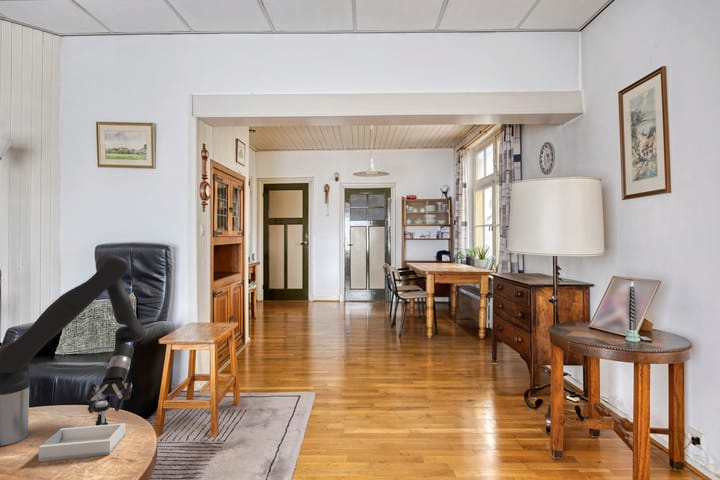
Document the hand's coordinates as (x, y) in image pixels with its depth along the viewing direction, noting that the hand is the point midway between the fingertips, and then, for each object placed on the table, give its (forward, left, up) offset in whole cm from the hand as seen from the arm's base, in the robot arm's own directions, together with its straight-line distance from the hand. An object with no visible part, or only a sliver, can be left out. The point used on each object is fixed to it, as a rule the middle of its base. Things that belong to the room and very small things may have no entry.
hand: (103, 411), depth 136 cm
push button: (0, -1, -7) cm, 7 cm away
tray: (0, -13, -6) cm, 14 cm away
